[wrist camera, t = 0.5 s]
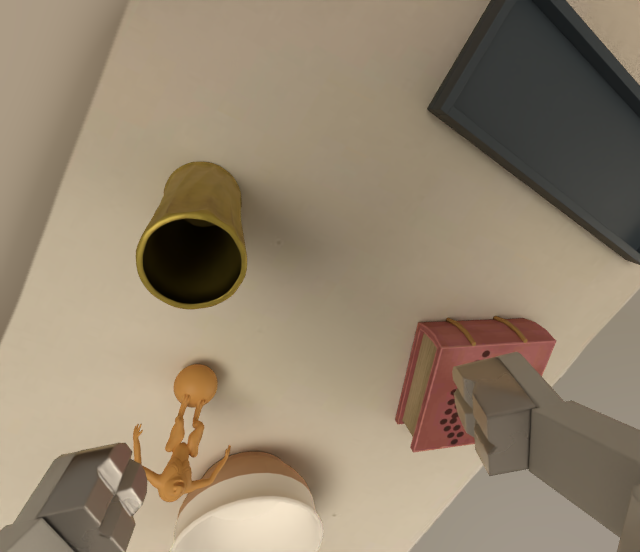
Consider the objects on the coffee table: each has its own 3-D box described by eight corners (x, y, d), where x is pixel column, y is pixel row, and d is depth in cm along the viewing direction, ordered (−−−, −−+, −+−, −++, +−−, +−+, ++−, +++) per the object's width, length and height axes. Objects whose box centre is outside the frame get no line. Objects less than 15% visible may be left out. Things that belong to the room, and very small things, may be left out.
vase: (253, 216, 32) (275, 287, 20) (188, 246, 32) (168, 336, 19) (220, 148, 29) (220, 180, 17) (148, 180, 29) (94, 236, 17)
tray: (426, 109, 32) (440, 109, 30) (509, -31, 29) (530, -41, 27) (625, 259, 45) (644, 266, 43) (695, 174, 43) (719, 177, 40)
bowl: (332, 474, 49) (351, 536, 42) (238, 543, 50) (241, 614, 43) (252, 412, 41) (259, 474, 34) (144, 494, 42) (129, 572, 35)
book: (525, 312, 45) (559, 334, 41) (490, 409, 51) (516, 437, 47) (419, 315, 41) (443, 340, 37) (395, 420, 47) (413, 452, 43)
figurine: (243, 369, 39) (252, 469, 28) (217, 412, 40) (216, 522, 29) (164, 343, 35) (140, 445, 25) (139, 390, 37) (106, 506, 26)
